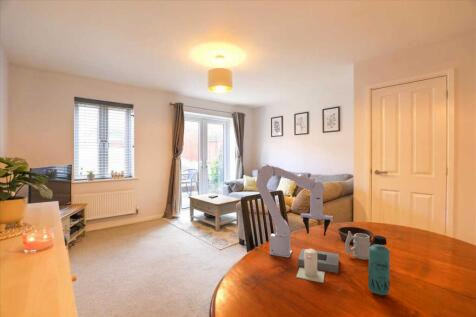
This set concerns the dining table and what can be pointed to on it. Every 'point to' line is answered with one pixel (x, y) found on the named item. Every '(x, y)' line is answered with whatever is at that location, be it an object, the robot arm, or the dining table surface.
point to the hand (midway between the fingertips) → (316, 234)
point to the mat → (318, 278)
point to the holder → (323, 261)
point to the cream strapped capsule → (310, 262)
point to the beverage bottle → (379, 266)
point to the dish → (353, 232)
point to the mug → (358, 245)
